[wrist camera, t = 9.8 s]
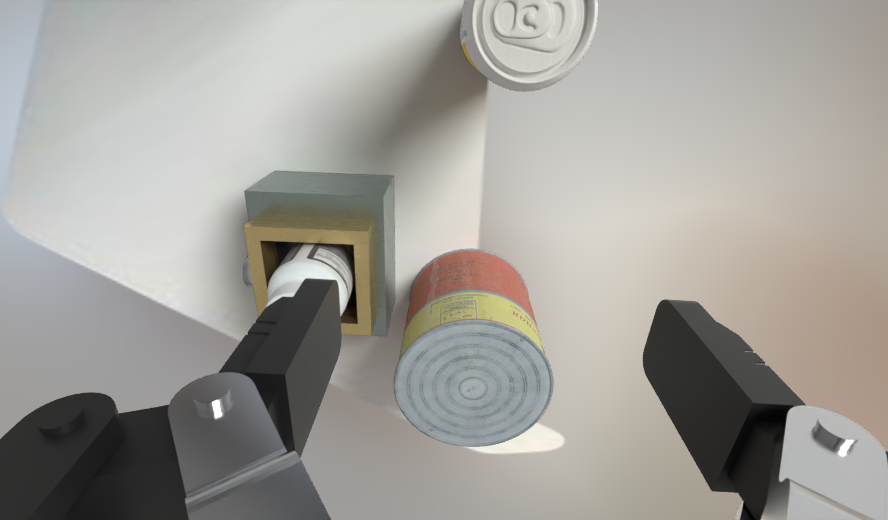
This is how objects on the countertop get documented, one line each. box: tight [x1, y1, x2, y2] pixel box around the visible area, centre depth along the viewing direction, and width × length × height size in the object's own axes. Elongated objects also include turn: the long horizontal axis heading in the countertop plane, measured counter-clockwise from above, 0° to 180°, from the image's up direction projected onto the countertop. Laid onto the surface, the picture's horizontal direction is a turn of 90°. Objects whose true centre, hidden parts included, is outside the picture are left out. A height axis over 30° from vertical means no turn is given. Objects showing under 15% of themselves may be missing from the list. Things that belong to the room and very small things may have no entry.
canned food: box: [394, 249, 553, 447], centre depth 37 cm, size 11×11×12 cm
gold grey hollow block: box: [243, 171, 395, 336], centre depth 36 cm, size 12×12×8 cm
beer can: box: [460, 0, 598, 91], centre depth 26 cm, size 6×6×15 cm
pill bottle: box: [265, 242, 355, 316], centre depth 32 cm, size 5×5×10 cm
